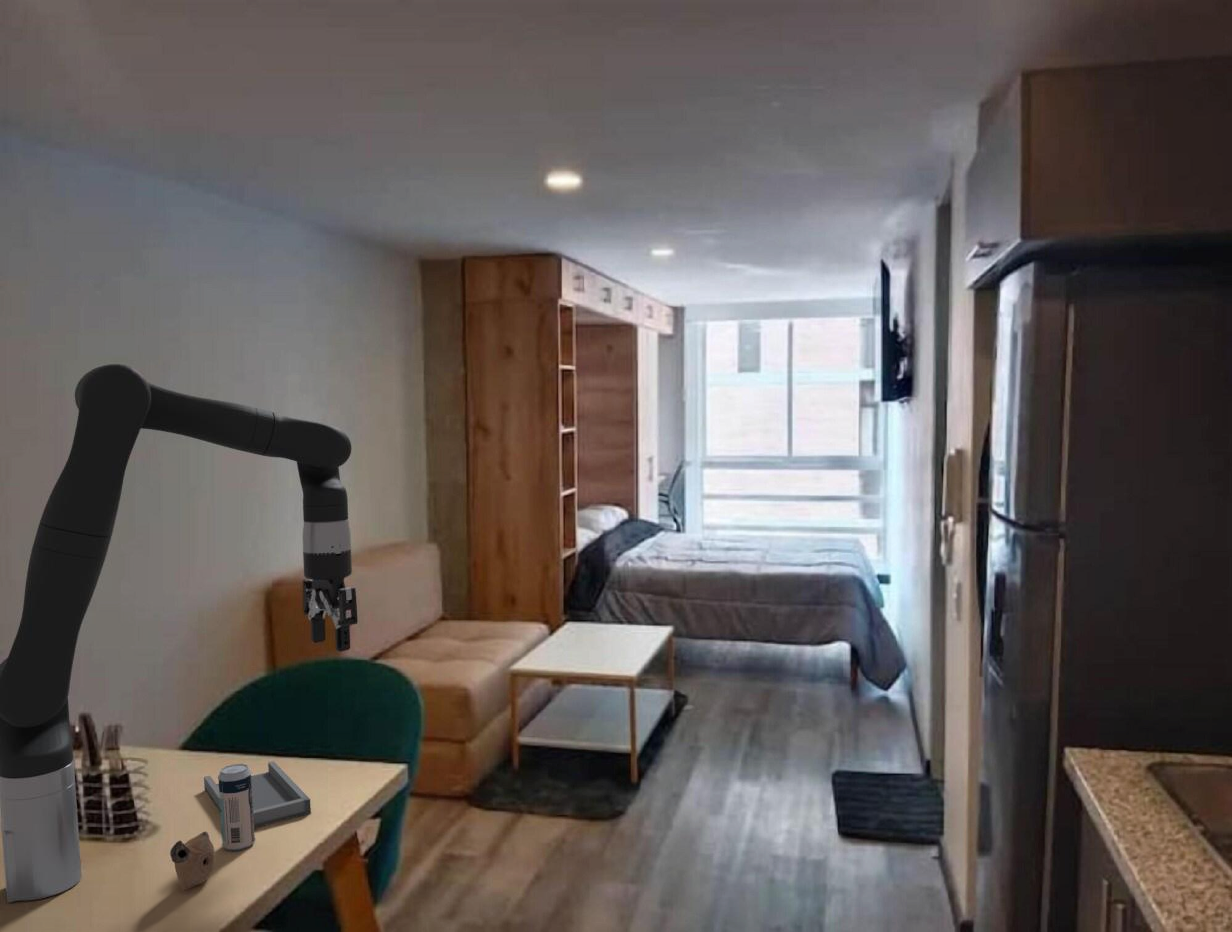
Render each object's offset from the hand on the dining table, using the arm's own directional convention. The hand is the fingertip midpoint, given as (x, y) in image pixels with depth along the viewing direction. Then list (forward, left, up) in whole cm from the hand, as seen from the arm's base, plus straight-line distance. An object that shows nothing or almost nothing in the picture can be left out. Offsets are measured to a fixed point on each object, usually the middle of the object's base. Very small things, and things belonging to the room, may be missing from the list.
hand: (330, 646), depth 161 cm
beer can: (-17, -4, -28) cm, 33 cm away
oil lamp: (-25, -14, -28) cm, 40 cm away
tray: (-10, +12, -27) cm, 32 cm away
